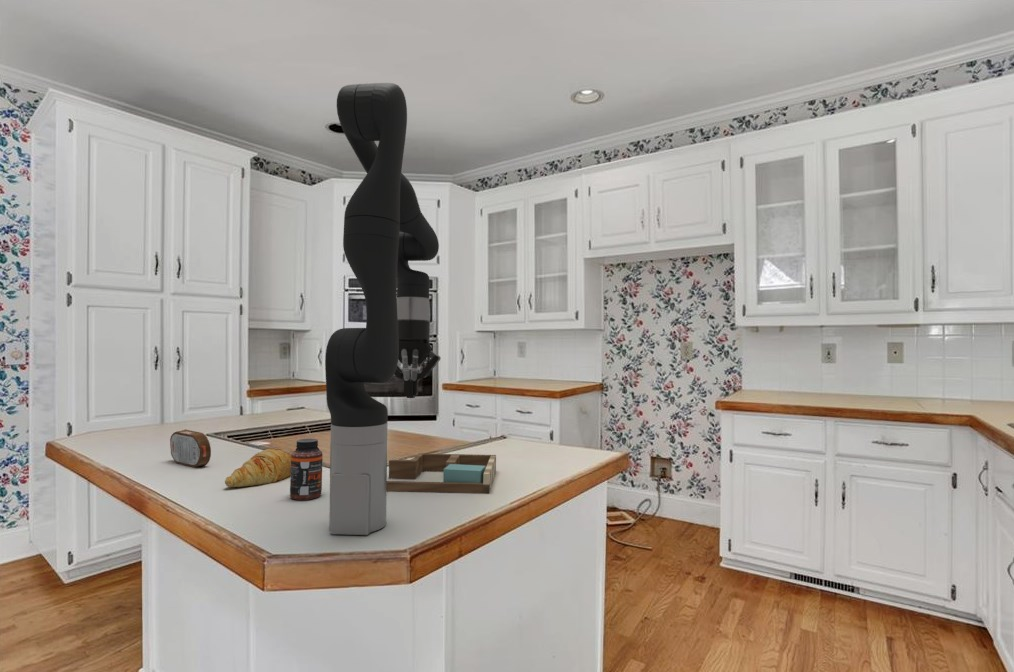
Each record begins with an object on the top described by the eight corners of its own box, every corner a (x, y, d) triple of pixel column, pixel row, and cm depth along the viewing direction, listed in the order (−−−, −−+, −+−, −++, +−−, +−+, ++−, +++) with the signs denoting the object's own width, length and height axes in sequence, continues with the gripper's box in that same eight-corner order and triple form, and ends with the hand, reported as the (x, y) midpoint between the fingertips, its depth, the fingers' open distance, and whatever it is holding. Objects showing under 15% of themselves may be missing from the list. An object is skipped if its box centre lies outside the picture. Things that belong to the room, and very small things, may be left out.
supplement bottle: (311, 502, 102) (312, 443, 102) (283, 500, 103) (284, 441, 104) (327, 493, 108) (328, 438, 108) (301, 491, 109) (302, 436, 110)
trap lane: (489, 493, 109) (489, 473, 109) (375, 490, 110) (375, 471, 111) (495, 471, 128) (496, 454, 128) (398, 469, 130) (398, 453, 130)
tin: (211, 467, 130) (212, 433, 130) (198, 470, 128) (199, 435, 128) (180, 460, 138) (180, 427, 138) (167, 462, 136) (167, 429, 136)
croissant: (236, 509, 109) (250, 476, 108) (204, 482, 112) (217, 450, 111) (309, 482, 129) (321, 454, 127) (280, 459, 132) (292, 432, 131)
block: (480, 492, 111) (480, 471, 111) (443, 490, 112) (443, 469, 112) (485, 486, 115) (485, 465, 116) (449, 484, 117) (450, 464, 117)
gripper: (378, 317, 113) (376, 398, 113) (439, 318, 113) (437, 400, 112) (387, 319, 121) (386, 396, 120) (445, 320, 120) (443, 397, 120)
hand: (411, 397), depth 116 cm, fingers closed
